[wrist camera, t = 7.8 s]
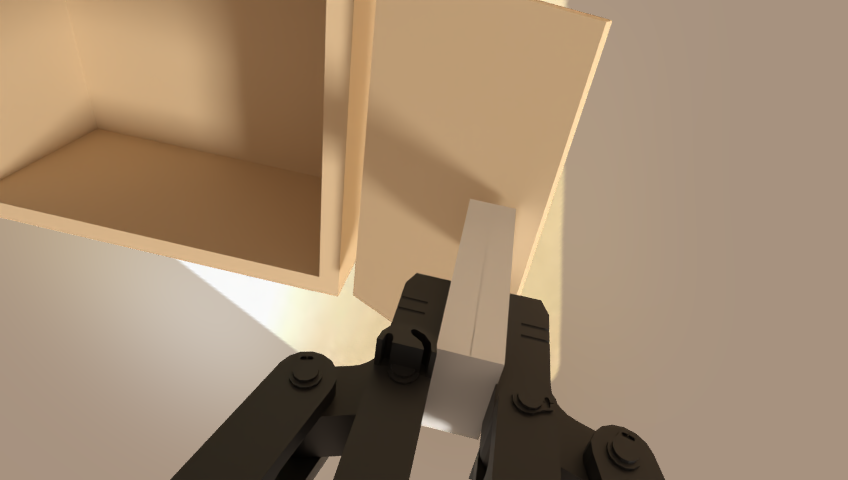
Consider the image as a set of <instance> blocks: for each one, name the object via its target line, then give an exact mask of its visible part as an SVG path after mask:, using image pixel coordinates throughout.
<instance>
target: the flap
mask: <svg viewBox="0 0 848 480" xmlns="http://www.w3.org/2000/svg"><path fill="white" fill-rule="evenodd" d="M611 23H612V20H609V19H605V18H601V17H598V16H594V15H591V14H587V13H583V12H580V11H576V10H573V9H569V8H565V7H562V6H558V5H555V4H551V3H547V2H544V1H540V0H376V8H375V21H374V34H373V47H372V59H371V72H370V85H369V98H368V111H367V124H366V136H365V149H364V162H363V175H362V188H361V200H360V213H359V226H358V239H357V252H356V264H355V277H354V290H353V295H354V296H355V297H357V298H358V299H359V300H361V301H362V302H364V303H365V304H367V305H368V306H369V307H371V308H372V309H374V310H375V311H377V312H378V313H379V314H381V315H382V316H384V317H385V318H387V319H388V320H389V321H391V322H392V320H393V317H394V315H395V312H396V309H397V306H398V303H399V300H400V298H401V294H402V291H403V289H404V286H405V283H406V282H407V281H408V280H409V279H410V278H411V277H413V276H414V275H415V274H416V273H420V274H424V275H428V276H433V277H437V278H441V279H446V280H450V281H451V280H452V276H453V272H454V267H455V263H456V258H457V254H458V250H459V245H460V241H461V236H462V232H463V228H464V223H465V219H466V215H467V210H468V206H469V201H470V199H474V200H478V201H483V202H487V203H492V204H497V205H501V206H506V207H510V208H515V209H516V215H515V229H514V243H513V256H512V270H511V284H510V293H511V294H515V295H519V296H520V295H521V292H522V289H523V286H524V283H525V280H526V277H527V274H528V271H529V268H530V265H531V262H532V259H533V256H534V253H535V250H536V247H537V244H538V241H539V238H540V235H541V232H542V229H543V226H544V223H545V220H546V217H547V214H548V211H549V208H550V205H551V202H552V199H553V197H554V194H555V191H556V188H557V185H558V182H559V179H560V176H561V173H562V170H563V167H564V164H565V161H566V158H567V155H568V152H569V149H570V146H571V142H572V140H573V137H574V134H575V131H576V128H577V125H578V122H579V119H580V116H581V113H582V110H583V107H584V104H585V100H586V98H587V95H588V92H589V89H590V86H591V83H592V80H593V77H594V74H595V71H596V68H597V65H598V62H599V59H600V56H601V53H602V50H603V47H604V44H605V41H606V38H607V35H608V32H609V29H610V26H611Z"/></svg>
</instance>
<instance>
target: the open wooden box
mask: <svg viewBox="0 0 848 480" xmlns="http://www.w3.org/2000/svg"><path fill="white" fill-rule="evenodd" d="M375 8H376V0H0V217H1V218H4V219H9V220H14V221H17V222H22V223H26V224H30V225H34V226H38V227H43V228H47V229H51V230H56V231H60V232H64V233H69V234H73V235H77V236H81V237H85V238H90V239H94V240H98V241H102V242H107V243H111V244H115V245H120V246H124V247H128V248H132V249H136V250H141V251H145V252H149V253H153V254H158V255H162V256H166V257H170V258H175V259H179V260H183V261H188V262H192V263H196V264H200V265H205V266H209V267H213V268H217V269H222V270H226V271H230V272H234V273H239V274H243V275H247V276H251V277H256V278H260V279H264V280H268V281H273V282H277V283H281V284H285V285H290V286H294V287H298V288H302V289H307V290H311V291H317V292H321V293H325V294H330V295H334V296H338V295H339V293H340V291H341V289H342V287H343V285H344V283H345V281H346V279H347V277H348V275H349V273H350V271H351V269H352V267H353V265H354V263H355V261H356V252H357V239H358V226H359V213H360V200H361V188H362V175H363V162H364V149H365V136H366V124H367V111H368V98H369V85H370V72H371V59H372V47H373V34H374V21H375Z"/></svg>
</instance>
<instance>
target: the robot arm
mask: <svg viewBox="0 0 848 480" xmlns="http://www.w3.org/2000/svg"><path fill="white" fill-rule="evenodd" d="M515 215H516V209H515V208H510V207H506V206H501V205H497V204H492V203H487V202H483V201H478V200H474V199H470V201H469V206H468V210H467V215H466V219H465V223H464V228H463V232H462V236H461V241H460V245H459V250H458V254H457V258H456V263H455V267H454V272H453V276H452V280H451V281H450V280H446V279H441V278H437V277H433V276H428V275H424V274H420V273H416V274H415V275H414V276H413V277H411V278H410V279H409V280H408V281H407V282H406V283H405V286H404V289H403V291H402V294H401V298H400V300H399V303H398V306H397V309H396V312H395V315H394V317H393V320H392V323H391V326H389V327H388V328H386V329H384V330H383V331H382V332H381V333H380V335H379V336H378V338H377V343H376V351H375V358H374V359H372V360H371V361H369V362H367V363H364V364H361V365H355V366H338V367H335V366H334V364H333V362H332V361H331V360H330V359H328V358H327V357H326V356H324V355H322V354H319V353H315V352H299V353H296V354H293V355H290V356H289V357H287V358H286V359H284V360H283V361H281V362H280V363H279V364H278V365H277V366H276V367H275V369H274V370H273V371H272V372H271V373H270V374H269V375H268V376H267V377H266V378H265V379H264V380H263V381H262V382H261V383H260V385H259V386H258V387H257V388H256V389H255V390H254V391H253V392H252V393H251V394H250V395H249V396H248V397H247V398H246V400H245V401H244V402H243V403H242V404H241V405H240V406H239V407H238V408H237V409H236V410H235V411H234V412H233V413H232V415H231V416H230V417H229V418H228V419H227V420H226V421H225V422H224V423H223V424H222V425H221V426H220V427H219V428H218V429H217V430H216V432H215V433H214V434H213V435H212V436H211V437H210V438H209V439H208V440H207V441H206V442H205V443H204V444H203V446H202V447H201V448H200V449H199V450H198V451H197V452H196V453H195V454H194V455H193V456H192V457H191V458H190V459H189V460H188V461H187V463H185V465H184V466H183V467H182V468H181V469H180V470H179V471H178V472H177V473H176V474H175V475H174V476H173V478H172V479H171V480H313V479H314V478H315V476H316V475H317V473H318V472H319V470H320V469H321V468H322V466H323V464H324V463H325V462H326V460H327V459H328V457H329V456H341V459H340V462H339V465H338V468H337V470H336V473H335V476H334V479H333V480H409V477H410V473H411V468H412V464H413V459H414V454H415V450H416V445H417V441H418V436H419V432H420V427H421V425H422V426H426V427H430V428H435V429H438V430H442V431H446V432H450V433H454V434H458V435H462V436H466V437H470V438H474V439H477V440H478V439H479V436H480V433H481V439H480V448H479V452H478V454H477V457H476V460H475V462H474V465H473V468H472V471H471V474H470V476H469V479H472V480H665V479H664V477H663V474H662V472H661V470H660V468H659V465H658V463H657V461H656V459H655V456H654V454H653V453H652V451H651V450H650V448H649V446H648V445H647V443H646V442H645V441H643V440H642V439H641V438H640V437H639V436H638V435H637V434H635V433H634V432H632V431H630V430H628V429H626V428H624V427H619V426H615V425H609V426H602V427H600V428H599V429H598V430H597V431H594V430H592V429H591V428H589V427H587V426H585V425H583V424H581V423H579V422H578V421H576V420H574V419H573V418H571V417H570V416H568V415H567V414H566V413H565V412H564V411H563V410H562V409H561V408H560V407H559V405H558V404H557V401H556V399H555V398H554V396H553V395H552V391H551V383H550V344H549V314H548V312H547V311H546V309H545V307H544V305H543V303H542V301H541V300H537V299H532V298H528V297H524V296H519V295H515V294H511V293H510V284H511V270H512V256H513V243H514V229H515Z"/></svg>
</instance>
